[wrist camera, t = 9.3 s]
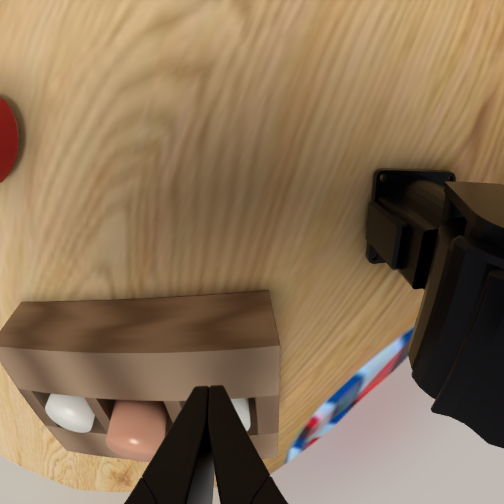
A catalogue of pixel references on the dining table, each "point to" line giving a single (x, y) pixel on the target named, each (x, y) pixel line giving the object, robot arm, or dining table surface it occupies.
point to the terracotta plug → (137, 428)
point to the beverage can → (7, 139)
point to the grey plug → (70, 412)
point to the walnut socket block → (146, 358)
